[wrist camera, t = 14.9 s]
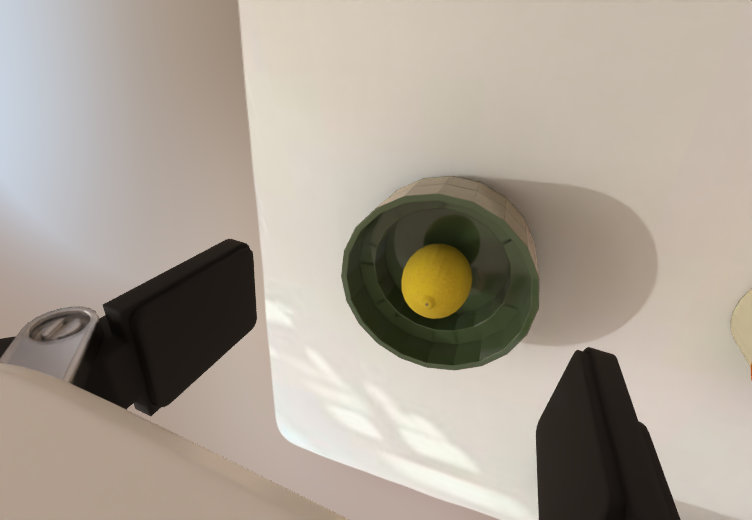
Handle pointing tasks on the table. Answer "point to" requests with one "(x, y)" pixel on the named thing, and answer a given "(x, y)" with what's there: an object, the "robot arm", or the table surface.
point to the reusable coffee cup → (743, 326)
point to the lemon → (436, 281)
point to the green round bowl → (485, 256)
